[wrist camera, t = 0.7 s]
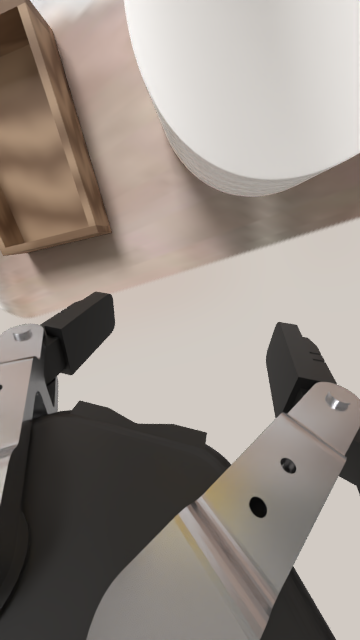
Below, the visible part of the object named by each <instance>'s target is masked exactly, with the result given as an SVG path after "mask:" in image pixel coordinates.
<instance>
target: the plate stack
mask: <svg viewBox="0 0 360 640" xmlns="http://www.w3.org/2000/svg"><path fill="white" fill-rule="evenodd" d="M124 5H125V12H126V19H127V24H128V30H129V34H130V39H131V43H132V47H133V51H134V54H135V58H136V61H137V64H138V67H139V70H140V73H141V75H142V78H143V80H144V83H145V85H146V88H147V90H148V93H149V95H150V98H151V100H152V103H153V105H154V107H155V110H156V113H157V115H158V117H159V120H160V122H161V125H162V127H163V130H164V132H165V135H166V137H167V139H168V141H169V143H170V145H171V147H172V149H173V150H174V152H175V153H176V155H177V156H178V158H179V159H180V160H181V162H182V163H183V164H184V165H185V167H186V168H187V169H188V170H189V171H190V172H191V173H192V174H193V175H195V176H196V177H197V178H198V179H199V180H201V181H202V182H204V183H205V184H207V185H209V186H210V187H212V188H214V189H216V190H219V191H221V192H224V193H227V194H231V195H236V196H245V197H257V196H266V195H271V194H275V193H279V192H282V191H285V190H287V189H290V188H292V187H294V186H296V185H299V184H301V183H302V182H304V181H307V180H309V179H310V178H312V177H315V176H317V175H319V174H320V173H322V172H325V171H327V170H329V169H331V168H332V167H334V166H337V165H339V164H341V163H343V162H345V161H347V160H348V159H350V158H352V157H354V156H356V155H357V154H359V153H360V0H124Z"/></svg>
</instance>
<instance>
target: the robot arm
mask: <svg viewBox="0 0 360 640" xmlns="http://www.w3.org/2000/svg"><path fill="white" fill-rule="evenodd" d="M113 307H114V306H113V298H112V295H111V294H107V293H101V292H94V293H92V294H91V295H89V296H88V297H86V298H85V299H83V300H81V301H78V302H75V303H73V304H72V305H70V306H69V307H67V309H64V310H63V311H61V313H58V314H56V315H55V316H54V317H52V318H51V319H49V320H47V321H45V322H44V323H42V324H41V325H37V324H23V325H19V326H15V327H13V328H10V329H8V330H6V331H5V332H3V333H2V334H1V336H0V640H336V639H335V637H334V635H333V634H332V632H331V630H330V629H329V627H328V625H327V623H326V622H325V620H324V618H323V617H322V615H321V613H320V611H319V610H318V608H317V606H316V605H315V603H314V601H313V599H312V598H311V596H310V594H309V593H308V591H307V589H306V588H305V586H304V584H303V582H302V581H301V579H300V577H299V575H298V574H297V572H296V570H295V569H294V567H293V565H294V563H295V561H296V559H297V557H298V555H299V553H300V551H301V549H302V547H303V545H304V543H305V541H306V539H307V537H308V535H309V533H310V531H311V529H312V527H313V525H314V523H315V521H316V519H317V517H318V515H319V513H320V511H321V509H322V507H323V506H324V504H325V502H326V500H327V497H328V496H329V494H330V492H331V490H332V488H333V486H334V484H335V482H336V480H337V478H338V476H340V477H342V478H343V479H345V480H347V481H349V482H351V483H352V484H354V485H356V486H357V488H358V491H359V493H360V399H359V398H358V397H357V396H356V395H355V394H353V393H352V392H350V391H349V390H347V389H345V388H343V387H342V386H339V385H337V383H336V381H335V379H334V378H333V376H332V374H331V372H330V370H329V368H328V366H327V365H326V363H324V359H323V358H322V356H321V353H320V351H319V349H318V348H317V346H316V345H315V344H314V343H313V342H312V341H310V340H309V339H308V338H305V337H302V335H301V333H300V331H299V329H298V326H297V325H294V324H288V323H282V322H278V323H277V324H276V327H275V330H274V332H273V335H272V338H271V341H270V344H269V348H268V350H267V356H266V365H267V371H268V377H269V383H270V388H271V394H272V400H273V406H274V412H275V417H276V419H275V420H274V421H273V422H272V423H271V424H270V425H269V426H268V427H267V428H266V429H265V430H264V431H263V432H262V434H261V435H260V436H259V437H258V438H257V439H256V440H255V441H254V442H253V443H252V444H251V445H250V446H249V447H248V448H247V449H246V450H245V451H244V452H243V453H242V454H241V455H240V457H239V458H238V459H237V460H236V461H235V462H234V463H233V464H232V465H231V464H230V463H229V462H228V461H227V460H226V459H225V458H224V457H223V456H222V455H221V454H220V453H218V452H217V451H216V450H214V449H213V448H211V447H210V446H208V445H206V444H205V442H206V435H207V433H206V432H202V431H198V430H194V429H190V428H186V427H182V426H178V425H174V424H137V423H134V422H132V421H131V420H129V419H127V418H125V417H124V416H122V415H120V414H118V413H117V412H115V411H113V410H111V409H110V408H107V407H103V406H99V405H95V404H91V403H87V402H83V401H79V402H78V403H77V405H76V406H75V407H74V408H73V410H70V411H60V412H57V411H58V379H57V375H58V374H59V373H65V374H68V375H73V374H74V373H75V372H76V370H77V369H78V368H79V367H80V366H81V365H82V364H83V363H84V362H85V361H86V360H87V359H88V358H89V356H90V355H91V354H92V353H93V352H94V351H95V350H96V349H97V348H98V347H99V346H100V345H101V344H102V342H103V341H104V340H105V339H106V338H107V337H108V336H109V335H110V334H111V333H112V331H113V329H114V326H115V318H114V308H113Z"/></svg>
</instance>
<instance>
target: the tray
mask: <svg viewBox="0 0 360 640" xmlns="http://www.w3.org/2000/svg"><path fill="white" fill-rule="evenodd" d="M108 233H112V231H111V228H110V225H109V221H108V218H107V214H106V211H105V208H104V204H103V201H102V197H101V194H100V191H99V187H98V184H97V181H96V177H95V174H94V170H93V167H92V164H91V160H90V157H89V154H88V150H87V147H86V143H85V140H84V137H83V133H82V130H81V126H80V123H79V120H78V116H77V113H76V110H75V106H74V103H73V99H72V96H71V93H70V89H69V86H68V83H67V79H66V76H65V72H64V69H63V66H62V62H61V59H60V55H59V52H58V49H57V45H56V42H55V39H54V35H53V32H52V29H51V28H50V26H49V25H48V24H47V23H46V21H45V20H44V19H43V17H42V16H41V15H40V13H39V12H38V11H37V9H36V8H35V7H34V5H33V4H32V3H31V1H30V0H0V250H1V252H2V254H3V256H6V255H14V254H22V253H29V252H33V251H37V250H41V249H46V248H50V247H54V246H58V245H62V244H66V243H71V242H75V241H79V240H83V239H87V238H91V237H96V236H100V235H104V234H108Z"/></svg>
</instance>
